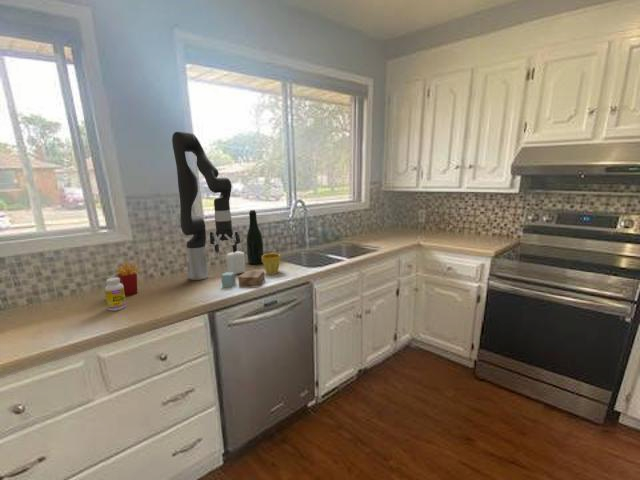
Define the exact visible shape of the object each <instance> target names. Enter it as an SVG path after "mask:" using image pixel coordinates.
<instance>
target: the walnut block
mask: <svg viewBox="0 0 640 480" xmlns="http://www.w3.org/2000/svg"><path fill="white" fill-rule="evenodd" d="M265 278H266V277H265V270H263V271H260V270H259V271H258V270H257V271H256V270H255V271H253V270H252V271H251V270H245V272H243V273H241V275H239V276H238V287H250V288H251V287H252V286H259V287H260V286H261V285H262V284H263V283H264V282H265V280H266V279H265ZM263 281H264V282H263ZM262 282H263V283H262ZM261 283H262V284H261Z"/></svg>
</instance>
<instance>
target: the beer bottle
mask: <svg viewBox="0 0 640 480" xmlns="http://www.w3.org/2000/svg"><path fill="white" fill-rule="evenodd" d="M248 215H249V216H248V217H249V226H248V230H247V234H246V242H245V243H246V257H247V258H246V259H247V260H246V261H247V263H248V264H250V265H260V264H263V263H262V256H263V255H265V250H264V248H265V247H264V240H263V234H262V232H261V230H260V228H259V225H258V220H257V219H258V218H257V212H256V210H255V209H250V210H249V213H248Z"/></svg>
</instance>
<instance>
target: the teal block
mask: <svg viewBox="0 0 640 480" xmlns="http://www.w3.org/2000/svg"><path fill="white" fill-rule="evenodd" d="M236 283H237V282H236V274H235V272H227V271H226V272H224V273H222V274H221V285H222V287H224V288H232V287H234V286H235V285H236Z"/></svg>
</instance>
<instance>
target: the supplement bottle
mask: <svg viewBox="0 0 640 480" xmlns="http://www.w3.org/2000/svg"><path fill="white" fill-rule="evenodd" d="M105 282H106V286H105V287H104V292H105V299H106V305H107V310H109V311H114V312H115V311H119V310H120V311H121V310H122V309H123V310H124V309H125V308H126V306H127V301H126V296H125V293H124V286H123V284H121V283H120V278H118V276H117V277H110V278H107V279H106V281H105Z"/></svg>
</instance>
